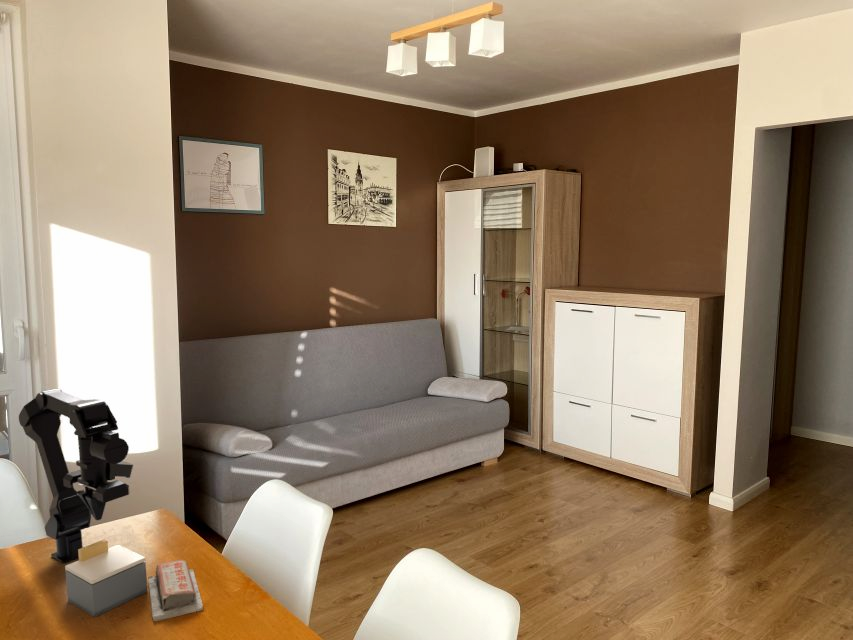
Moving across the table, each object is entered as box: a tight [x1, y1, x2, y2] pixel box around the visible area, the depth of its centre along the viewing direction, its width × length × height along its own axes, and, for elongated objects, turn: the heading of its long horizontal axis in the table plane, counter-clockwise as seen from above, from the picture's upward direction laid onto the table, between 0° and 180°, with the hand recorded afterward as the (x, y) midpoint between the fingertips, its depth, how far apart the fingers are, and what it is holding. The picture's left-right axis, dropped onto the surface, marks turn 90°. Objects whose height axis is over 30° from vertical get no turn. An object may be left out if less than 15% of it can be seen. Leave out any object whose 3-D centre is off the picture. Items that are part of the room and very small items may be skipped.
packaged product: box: [147, 559, 204, 622], centre depth 145 cm, size 18×5×10 cm
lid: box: [64, 538, 146, 584], centre depth 144 cm, size 11×12×3 cm
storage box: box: [64, 561, 149, 618], centre depth 145 cm, size 11×12×7 cm
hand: (98, 519), depth 154 cm, fingers closed
